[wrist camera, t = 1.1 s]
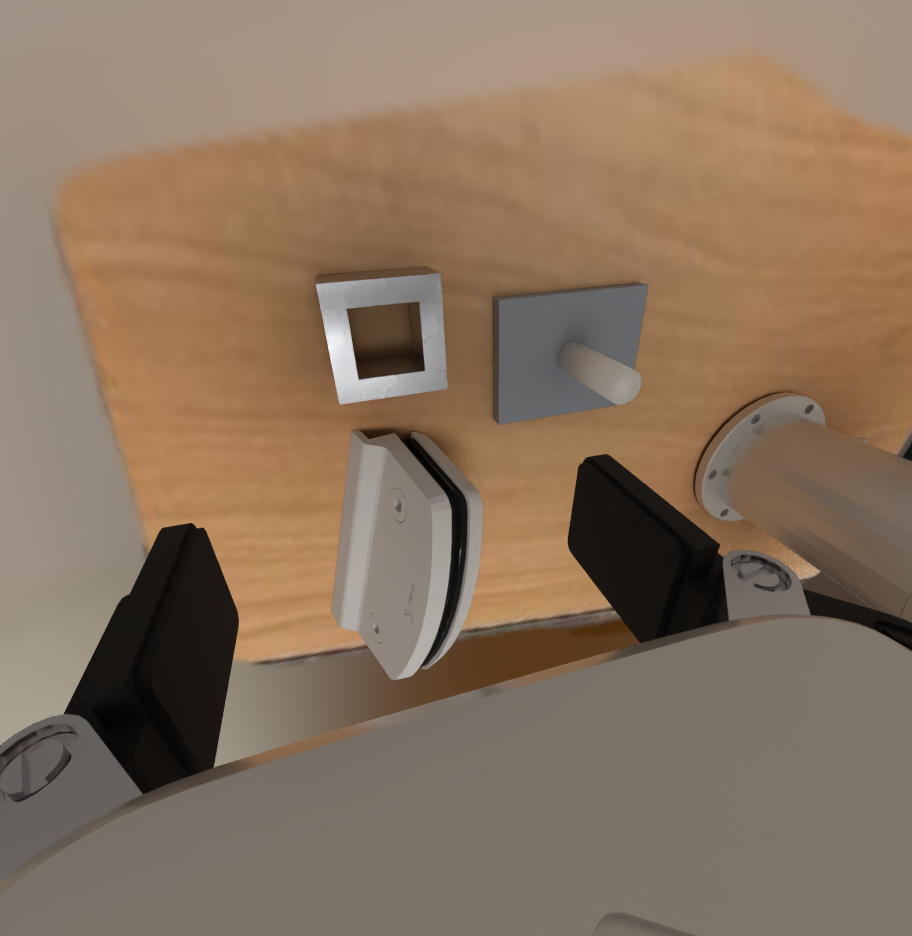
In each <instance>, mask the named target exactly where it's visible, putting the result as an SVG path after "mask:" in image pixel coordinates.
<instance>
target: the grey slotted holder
mask: <svg viewBox="0 0 912 936" xmlns="http://www.w3.org/2000/svg"><path fill="white" fill-rule="evenodd" d="M482 526H483V503H482V498H481V495H480V493H479V491H478V490H477V489H476V487H475V486H474V485H473V484H472V483H471V482H470V481H469V480H468V479H467V478H466V477H465V476H464V474H463V473H462V472H461V471H460V470H459V469H458V468H457V467H456V466H455V465H454V464H453V463H452V461H451V460H450V459H449V458H448V457H447V456H446V455H445V454H444V453H443V452H442V451H441V450H440V449H439V447H438V446H437V445H436V444H435V443H434V442H433V441H432V440H431V439H430V438H429V437H428V436H427V435H425V434H422V433H417V432H412V434H411V438H408V440H407V444H406V443H405V442H404V441H403V439H399V438H398V436H397V435H396V434H395V433H392V434H388V435H384V436H380V437H376V438H372V439H368V438H367V437H366V436H365V435H364V434H363V433H362V432H361V431H360V430H356V431H352V432H351V441H350V450H349V458H348V467H347V476H346V485H345V494H344V503H343V512H342V521H341V530H340V539H339V548H338V557H337V565H336V574H335V583H334V592H333V601H332V610H331V612H332V614H333V616H334V617H335V619H336V621H337V623H338V625H339V626H340V627H342V628H345V629H349V630H353V631H357V632H358V633H359V634H360V635H361V637H362V638H363V640H364V641H365V643H366V644H367V646H368V647H369V648H370V650H371V651H372V653H373V654H374V656H375V657H376V658H377V660H378V661H379V663H380V664H381V666H382V667H383V668H384V670H385V671H386V673H387V674H388V676H389V677H390V678H391V679H393V680H397V679H401V678H406V677H410V676H412V675H413V674H414V673H415V672H416V670H417V669H418V668H420V667H422V668H423V669H427V668H429V667H430V666H431V665H433V664H434V663H435V662H436V661H438V660H439V659H440V658H441V657H442V656H443V655H444V654H445V653H446V652H447V651H448V649H449V648H450V647H451V646H452V644H453V643H454V641H455V639H456V638H457V636H458V634H459V632H460V630H461V628H462V626H463V624H464V622H465V619H466V617H467V614H468V611H469V608H470V605H471V602H472V598H473V594H474V590H475V586H476V581H477V576H478V569H479V563H480V555H481V545H482Z"/></svg>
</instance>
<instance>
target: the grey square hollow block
mask: <svg viewBox="0 0 912 936" xmlns="http://www.w3.org/2000/svg"><path fill="white" fill-rule="evenodd" d="M316 288H317V293H318V298H319V303H320V308H321V313H322V318H323V323H324V328H325V333H326V339H327V344H328V349H329V354H330V359H331V364H332V369H333V374H334V379H335V384H336V389H337V394H338V399H339V404H346V403H353V402H360V401H367V400H374V399H381V398H388V397H395V396H402V395H409V394H416V393H423V392H430V391H437V390H444V389H448V385H447V368H446V352H445V335H444V318H443V301H442V285H441V273H439V272H437V271H435V270H432V269H430V268H428V267H414V268H402V269H390V270H378V271H366V272H353V273H341V274H329V275H317V276H316ZM398 303H408V306H409V316H410V326H411V336H412V347H413V354H410V355H401V356H393V357H385V358H377V359H369V360H361V361H355V356H354V350H353V344H352V338H351V332H350V326H349V321H348V315H347V308H357V307H367V306H377V305H387V304H398Z"/></svg>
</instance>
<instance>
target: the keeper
mask: <svg viewBox="0 0 912 936" xmlns="http://www.w3.org/2000/svg"><path fill="white" fill-rule="evenodd" d="M647 290H648V285H647V284H642V283H632V284H622V285H612V286H603V287H593V288H583V289H573V290H563V291H553V292H543V293H533V294H523V295H513V296H503V297H493V314H494V420H495V421H496V422H497V423H498V424H499V425H500V424H506V423H512V422H518V421H524V420H530V419H536V418H542V417H548V416H554V415H560V414H566V413H572V412H578V411H584V410H591V409H597V408H603V407H609V406H615V405H623V404H627V403H629V402H630V401H631V400H633V399H634V398H635V397H636V395H637V394H638V392H639V391H640V388H641V384H642V379H641V376H640V374H639V373H638V372H637V371H636V370H634V368H635V362H636V356H637V350H638V344H639V338H640V332H641V326H642V320H643V314H644V308H645V302H646V296H647Z"/></svg>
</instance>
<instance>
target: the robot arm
mask: <svg viewBox="0 0 912 936" xmlns="http://www.w3.org/2000/svg"><path fill="white" fill-rule="evenodd" d="M695 493H696V497H697V500H698V503H699V504H700V505H701V507H702V508H703V509H704V510H705V511H707V512H708V513H709V514H710V515H712V516H713V517H715V518H717V519H719V520H724V521H739V520H743V519H747V520H749V521H750V522H752V523H753V524H754V525H756V526H757V527H759V528H760V529H762V530H763V531H764V532H766V533H767V534H769V535H770V536H771V537H773V538H774V539H776V540H777V541H779V542H780V543H781V544H783V545H784V546H786V547H787V548H789V549H790V550H791V551H793V552H794V553H796V554H797V555H798V556H800V557H801V558H803V559H804V560H806V561H807V562H808V563H810V564H811V565H813V566H814V567H816V568H817V569H818V570H820V571H821V572H823V573H824V574H825V575H827V576H829V577H830V578H831V579H833V580H834V581H835V582H837V583H838V584H840V585H841V586H843V587H844V588H845V589H847V590H848V591H850V592H851V593H852V594H854V595H855V596H857V597H858V598H860V599H861V600H862V601H864V602H865V603H867V604H868V605H870V606H871V607H872V608H874V609H875V610H873V609H870V608H866V607H863V606H859V605H856V604H852V603H849V602H845V601H842V600H839V599H835V598H832V597H828V596H825V595H821V594H818V593H814V592H811V591H808V590H804V589H802V586H801V583H800V580H799V579H798V577H797V575H796V574H795V573H794V572H793V571H792V570H791V569H790V568H789V567H788V566H786V565H785V564H783V563H782V562H780V561H779V560H777V559H775V558H773V557H770V556H768V555H765V554H762V553H759V552H755V551H748V550H736V551H733V552H730V553H728V554H727V555H726V556H725V557H722V556H721V555H720V554H719V553H718V550H719V547H720V544H719V543H717V542H716V541H715V540H714V539H712V538H711V537H710V536H709V535H707V534H706V533H705V532H704V531H702V530H701V529H700V528H699V527H698V526H696V525H695V524H694V523H693V522H691V521H690V520H689V519H688V518H686V517H685V516H684V515H683V514H681V513H680V512H679V511H678V510H676V509H675V508H674V507H673V506H672V505H670V504H669V503H668V502H667V501H665V500H664V499H663V498H662V497H660V496H659V495H658V494H657V493H655V492H654V491H653V490H652V489H650V488H649V487H648V486H647V485H646V484H644V483H643V482H642V481H641V480H639V479H638V478H637V477H636V476H634V475H633V474H632V473H631V472H629V471H628V470H627V469H626V468H625V467H623V466H622V465H621V464H620V463H618V462H617V461H616V460H615V459H613V458H612V457H611V456H609V455H608V454H604V455H598V456H592V457H587V458H585V460H584V461H583V463H582V464H580V465H579V467H578V473H577V480H576V486H575V493H574V500H573V507H572V514H571V521H570V527H569V534H568V547H569V550H570V552H571V553H572V555H573V556H574V557H575V559H576V560H577V561H578V563H579V564H580V565H581V566H582V568H583V569H584V570H585V572H586V573H587V574H588V576H589V577H590V578H591V580H592V581H593V582H594V583H595V585H596V586H597V587H598V589H599V590H600V591H601V593H602V594H603V595H604V596H605V598H606V599H607V600H608V602H609V603H610V604H611V606H612V607H613V608H614V609H615V611H616V612H617V613H618V615H619V616H620V617H621V619H622V620H623V621H624V622H625V624H626V625H627V626H628V628H629V629H630V630H631V632H632V633H633V634H634V636H635V637H636V638H637V639H638V641H639V642H640V644H637V645H633V646H630V647H626V648H622V649H619V650H615V651H612V652H608V653H604V654H601V655H598V656H594V657H590V658H587V659H583V660H579V661H576V662H572V663H569V664H565V665H561V666H558V667H554V668H551V669H548V670H544V671H540V672H537V673H533V674H530V675H526V676H523V677H519V678H516V679H513V680H509V681H505V682H502V683H498V684H495V685H492V686H488V687H484V688H481V689H477V690H474V691H470V692H467V693H463V694H460V695H456V696H453V697H450V698H446V699H442V700H439V701H435V702H432V703H429V704H425V705H422V706H418V707H415V708H411V709H408V710H404V711H401V712H398V713H394V714H391V715H387V716H384V717H380V718H377V719H374V720H370V721H367V722H363V723H360V724H356V725H353V726H349V727H346V728H343V729H339V730H336V731H332V732H329V733H325V734H322V735H319V736H315V737H312V738H308V739H305V740H302V741H298V742H295V743H292V744H289V745H286V746H282V747H279V748H276V749H272V750H269V751H266V752H263V753H260V754H256V755H253V756H250V757H246V758H243V759H240V760H237V761H234V762H230V763H227V764H224V765H221V766H217V767H215V768H214V762H215V757H216V751H217V746H218V740H219V734H220V728H221V723H222V717H223V712H224V706H225V700H226V694H227V689H228V683H229V678H230V672H231V666H232V661H233V655H234V649H235V644H236V638H237V632H238V626H239V618H238V612H237V609H236V606H235V604H234V601H233V599H232V596H231V594H230V591H229V588H228V586H227V583H226V581H225V578H224V576H223V573H222V571H221V568H220V565H219V563H218V560H217V558H216V555H215V553H214V550H213V548H212V545H211V542H210V540H209V537H208V535H207V532H206V530H205V529H204V528H198V529H197V528H196V526H195V525H194V524H192V523H189V524H183V525H177V526H170V527H164V528H162V529H161V530H160V532H159V534H158V536H157V538H156V540H155V542H154V544H153V546H152V549H151V551H150V553H149V555H148V557H147V559H146V561H145V563H144V565H143V567H142V570H141V572H140V574H139V576H138V578H137V580H136V582H135V584H134V586H133V589H132V591H131V592H130V595H126V596H125V597H123V598H122V599H121V601H120V602H119V604H118V605H117V607H116V609H115V611H114V613H113V615H112V617H111V620H110V621H109V623H108V626H107V627H106V629H105V632H104V634H103V636H102V638H101V640H100V642H99V644H98V646H97V648H96V650H95V652H94V654H93V656H92V658H91V660H90V662H89V664H88V666H87V668H86V670H85V672H84V674H83V676H82V678H81V680H80V682H79V684H78V686H77V688H76V690H75V692H74V694H73V696H72V698H71V700H70V702H69V704H68V706H67V708H66V710H65V712H64V714H63V715H58V716H53V717H49V718H47V719H44V720H42V721H39V722H36V723H34V724H32V725H30V726H28V727H27V728H25V729H23V730H22V731H20V732H18V733H17V734H15V735H13V736H12V737H11V738H9V739H8V740H7V741H5V742H4V743H3V744H2V745H0V936H912V462H911V461H909V460H907V459H904V458H902V457H899V456H897V455H895V454H892V453H890V452H887V451H885V450H882V449H880V448H878V447H875V446H873V445H870V444H869V442H868V440H867V439H865V438H863V437H856V438H853V437H851V436H848V435H846V434H844V433H841V432H839V431H836V430H834V429H831V428H829V427H827V426H826V421H825V415H824V412H823V410H822V408H821V407H820V405H819V404H818V403H817V402H816V401H814V400H813V399H811V398H809V397H806V396H803V395H800V394H797V393H788V392H784V393H778V394H773V395H770V396H768V397H765V398H762V399H760V400H758V401H756V402H755V403H753V404H751V405H749V406H747V407H746V408H745V409H743V410H742V411H741V412H739V413H738V414H736V415H735V416H734V417H733V418H732V419H731V420H730V421H729V422H728V423H727V424H726V425H724V427H723V428H722V429H721V430H720V431H719V432H718V434H717V435H716V436H715V437H714V439H713V440H712V442H711V443H710V445H709V446H708V448H707V449H706V451H705V453H704V455H703V457H702V459H701V461H700V464H699V467H698V470H697V474H696V481H695Z"/></svg>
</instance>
